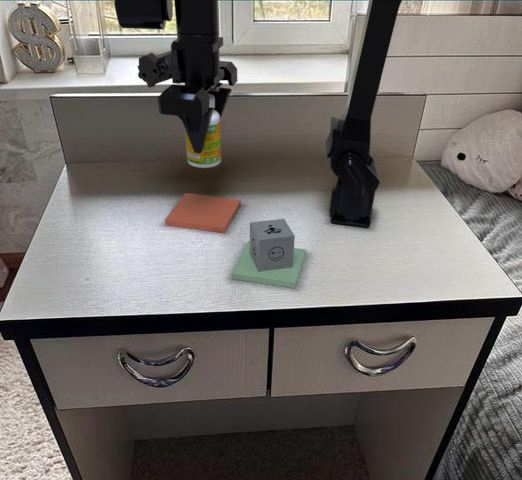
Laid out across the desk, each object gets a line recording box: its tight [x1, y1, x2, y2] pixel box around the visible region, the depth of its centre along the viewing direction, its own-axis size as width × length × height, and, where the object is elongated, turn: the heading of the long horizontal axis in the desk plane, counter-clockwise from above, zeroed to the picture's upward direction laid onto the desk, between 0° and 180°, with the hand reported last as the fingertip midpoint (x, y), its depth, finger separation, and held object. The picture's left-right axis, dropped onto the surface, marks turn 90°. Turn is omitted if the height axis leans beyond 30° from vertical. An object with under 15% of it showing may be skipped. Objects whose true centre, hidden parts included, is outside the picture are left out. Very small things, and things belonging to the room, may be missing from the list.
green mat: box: [231, 240, 307, 289], centre depth 76 cm, size 9×9×1 cm
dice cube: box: [249, 218, 296, 272], centre depth 74 cm, size 5×5×5 cm
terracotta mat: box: [164, 192, 242, 234], centre depth 87 cm, size 10×10×1 cm
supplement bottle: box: [184, 94, 222, 169], centre depth 80 cm, size 5×5×10 cm
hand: (203, 146), depth 81 cm, fingers closed on supplement bottle, 5 cm apart
